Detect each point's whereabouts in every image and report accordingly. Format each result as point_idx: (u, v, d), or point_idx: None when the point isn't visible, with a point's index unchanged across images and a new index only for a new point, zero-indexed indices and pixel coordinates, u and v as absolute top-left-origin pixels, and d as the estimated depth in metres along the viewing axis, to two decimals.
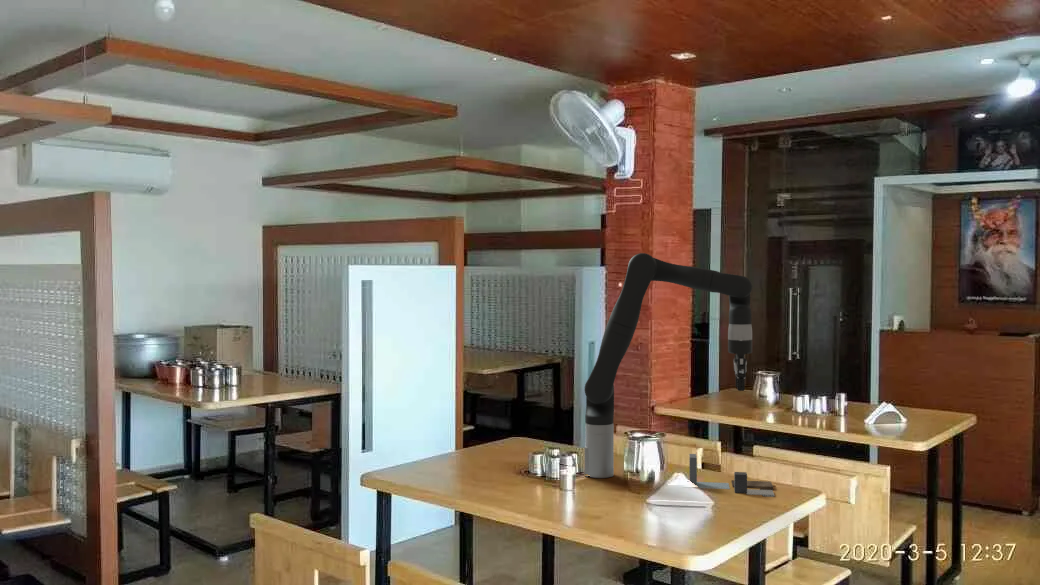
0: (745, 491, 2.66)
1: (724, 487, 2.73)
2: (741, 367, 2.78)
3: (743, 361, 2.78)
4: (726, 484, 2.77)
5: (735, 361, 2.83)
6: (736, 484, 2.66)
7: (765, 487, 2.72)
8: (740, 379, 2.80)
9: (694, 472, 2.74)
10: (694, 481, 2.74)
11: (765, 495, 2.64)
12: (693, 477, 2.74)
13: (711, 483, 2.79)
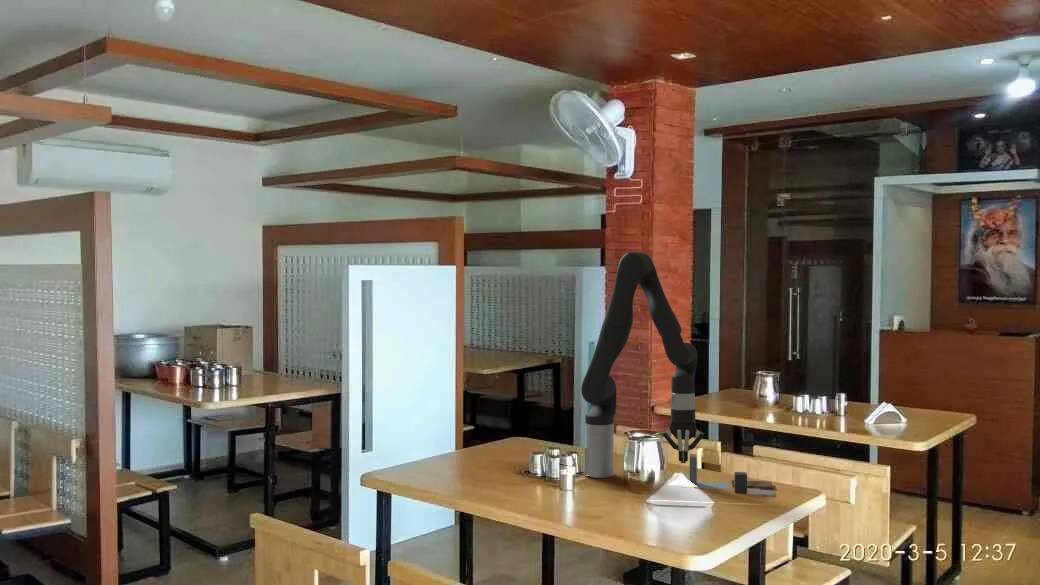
0: (745, 491, 2.66)
1: (724, 487, 2.73)
2: None
3: None
4: (726, 484, 2.77)
5: (689, 433, 2.75)
6: (736, 484, 2.66)
7: (765, 487, 2.72)
8: None
9: (694, 472, 2.74)
10: (694, 481, 2.74)
11: (765, 495, 2.64)
12: (693, 477, 2.74)
13: (711, 483, 2.79)
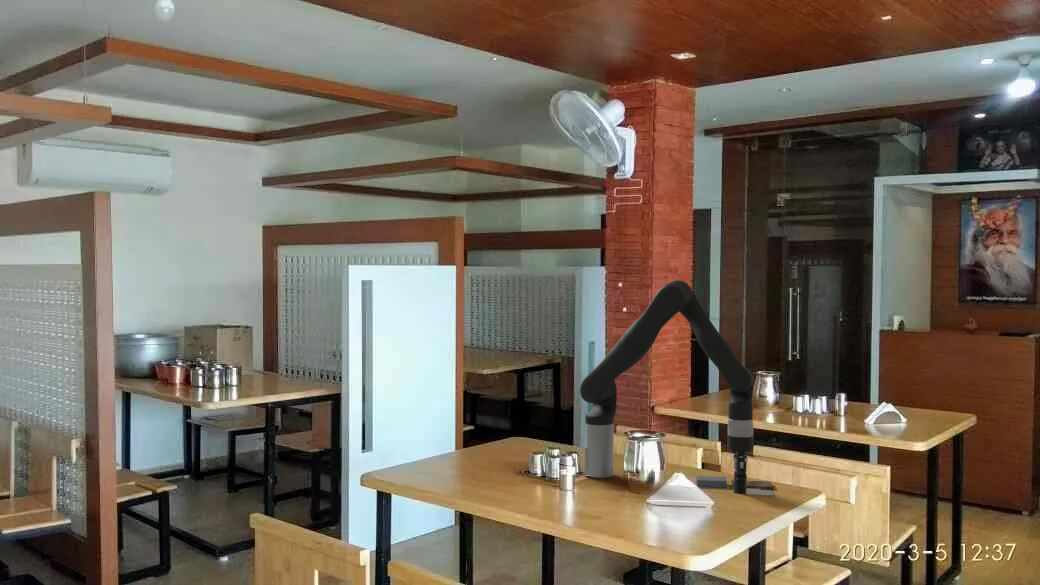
0: None
1: None
2: None
3: None
4: None
5: None
6: (735, 484, 2.66)
7: (765, 487, 2.72)
8: None
9: (711, 485, 2.73)
10: (702, 484, 2.74)
11: (764, 495, 2.64)
12: (706, 484, 2.73)
13: None
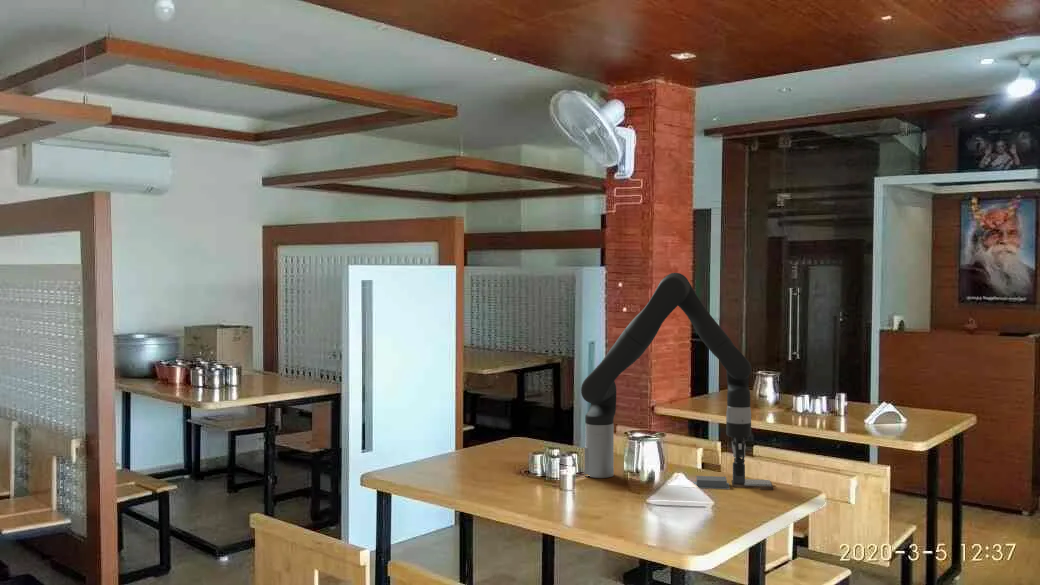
0: (743, 481, 2.74)
1: None
2: None
3: None
4: None
5: None
6: (734, 474, 2.75)
7: (765, 487, 2.72)
8: None
9: (711, 485, 2.73)
10: (702, 484, 2.74)
11: (762, 485, 2.72)
12: (706, 484, 2.73)
13: None
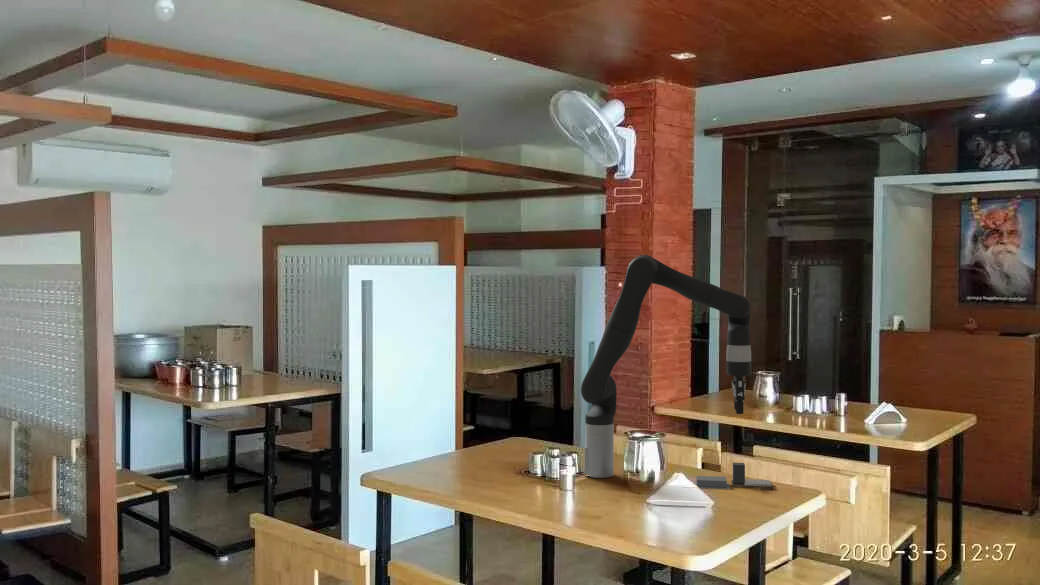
0: (743, 481, 2.74)
1: None
2: None
3: None
4: None
5: None
6: (734, 474, 2.75)
7: (765, 487, 2.72)
8: None
9: (711, 485, 2.73)
10: (702, 484, 2.74)
11: (762, 485, 2.72)
12: (706, 484, 2.73)
13: None
